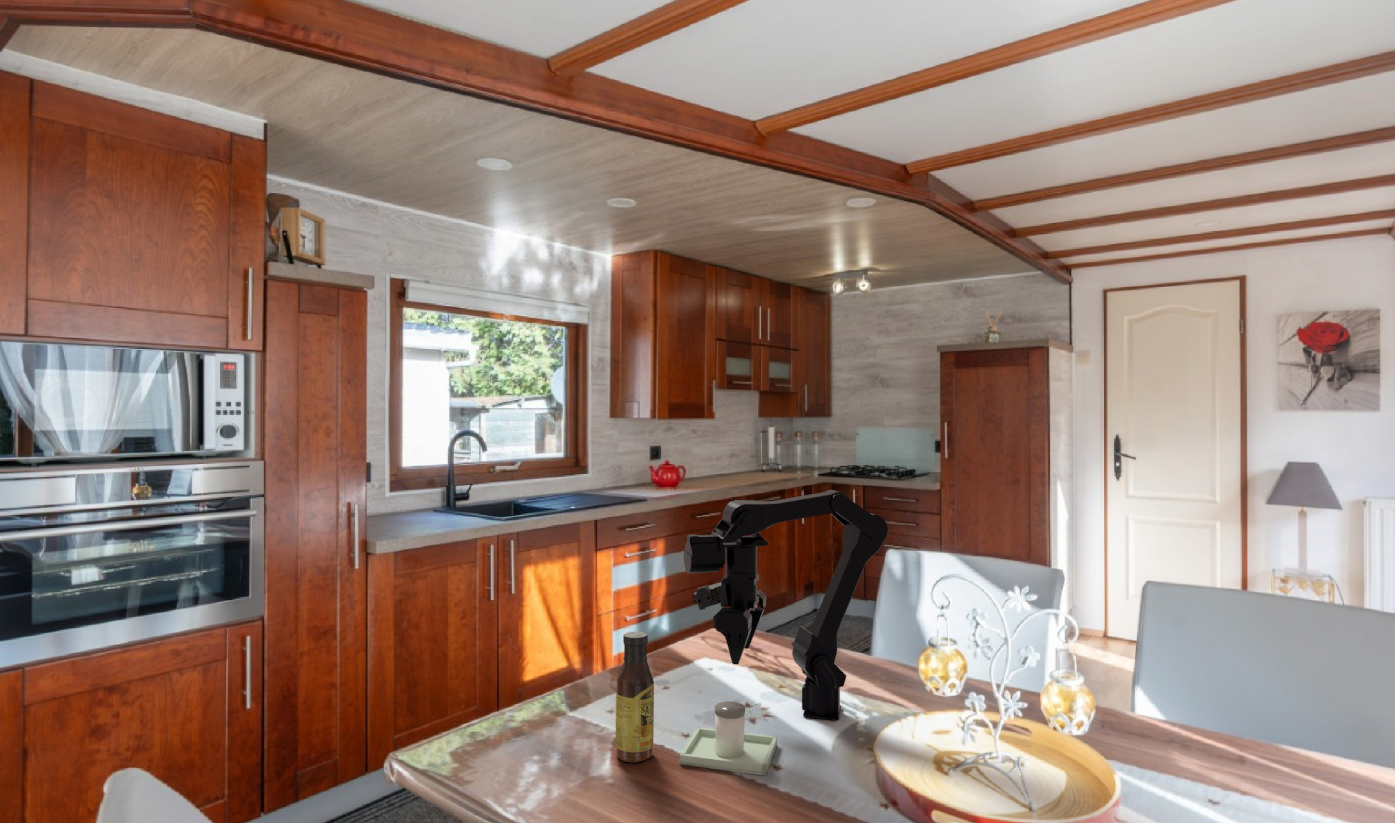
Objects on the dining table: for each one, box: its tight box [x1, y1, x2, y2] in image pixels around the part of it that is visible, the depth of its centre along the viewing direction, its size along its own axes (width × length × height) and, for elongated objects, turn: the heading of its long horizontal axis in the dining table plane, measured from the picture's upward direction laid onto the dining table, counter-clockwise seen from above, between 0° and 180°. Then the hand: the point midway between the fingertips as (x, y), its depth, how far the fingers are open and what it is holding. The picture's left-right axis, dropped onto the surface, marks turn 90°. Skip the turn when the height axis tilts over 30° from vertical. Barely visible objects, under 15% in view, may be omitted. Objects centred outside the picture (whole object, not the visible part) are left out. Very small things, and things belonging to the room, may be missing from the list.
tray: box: [679, 726, 778, 777], centre depth 125 cm, size 14×11×2 cm
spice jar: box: [714, 700, 746, 758], centre depth 125 cm, size 5×5×7 cm
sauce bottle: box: [615, 631, 655, 763], centre depth 125 cm, size 6×6×20 cm
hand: (740, 655), depth 138 cm, fingers open, 9 cm apart
